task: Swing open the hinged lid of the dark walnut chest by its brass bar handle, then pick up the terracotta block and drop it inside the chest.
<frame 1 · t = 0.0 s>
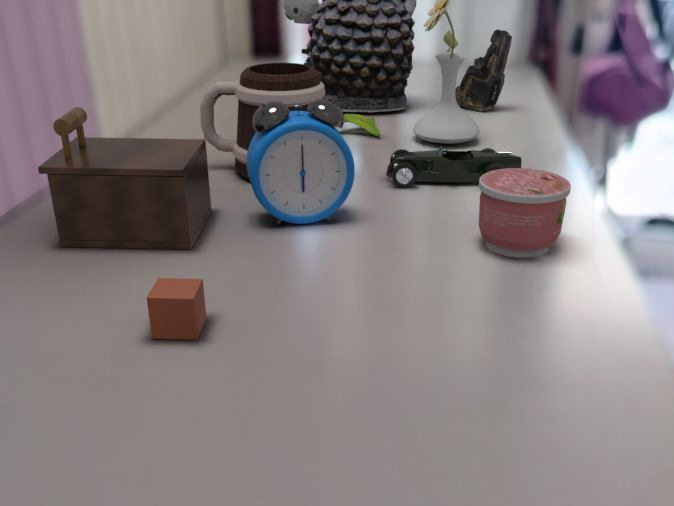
flower in vase: (444, 142, 137), on the table
robot: (333, 79, 182), on the table
statue: (477, 109, 157), on the table
block: (179, 328, 78), on the table
chest: (140, 228, 101), on the table
toy car: (452, 181, 119), on the table
alarm clock: (301, 219, 105), on the table
lid: (123, 136, 95), point 12 cm above the table, hinge at 0.0°
toy: (323, 134, 141), on the table
mug: (268, 171, 122), on the table
container: (517, 246, 97), on the table
pine cone sculpture: (360, 109, 157), on the table
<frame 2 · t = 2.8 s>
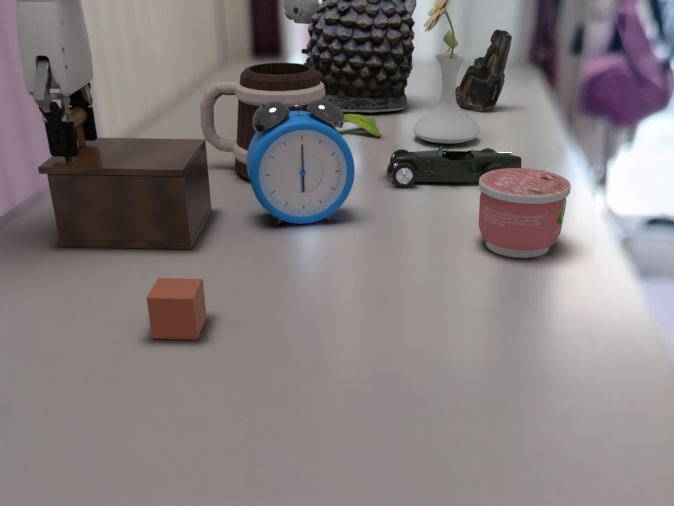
hand: (74, 146, 96), 10 cm above the table, tool pointing down, fingers closed on lid, 6 cm apart
lid: (123, 136, 95), point 12 cm above the table, hinge at 0.0°, touching gripper
everything else where it was.
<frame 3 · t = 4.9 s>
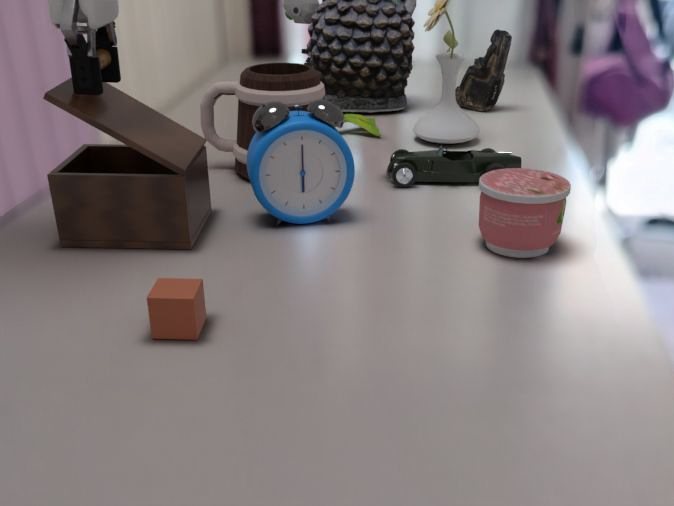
hand: (98, 86, 92), 17 cm above the table, tool pointing down, fingers closed on lid, 6 cm apart
lid: (138, 103, 93), point 16 cm above the table, hinge at 30.1°, touching gripper
everything else where it was.
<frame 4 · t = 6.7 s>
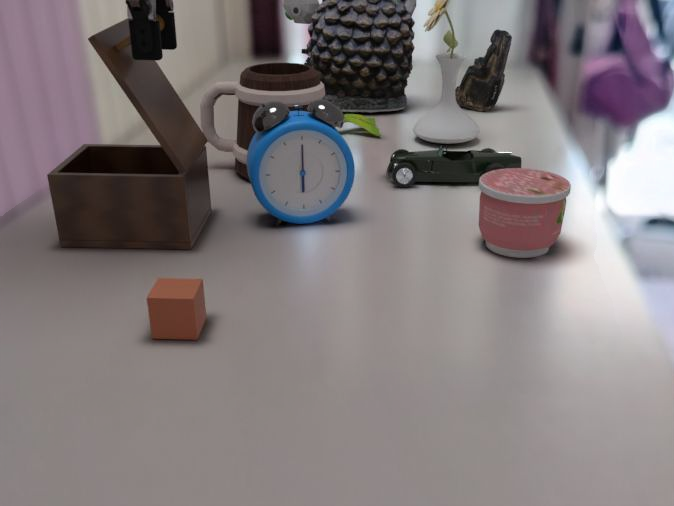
hand: (155, 52, 90), 21 cm above the table, tool pointing down, fingers closed on lid, 6 cm apart
lid: (169, 84, 92), point 18 cm above the table, hinge at 59.8°, touching gripper
everything else where it was.
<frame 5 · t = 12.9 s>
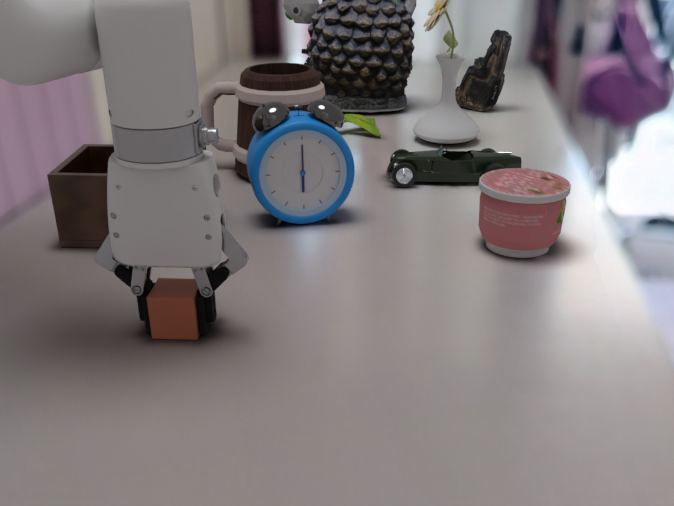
hand: (179, 325, 78), 0 cm above the table, tool pointing down, fingers closed on block, 4 cm apart
block: (179, 328, 78), on the table, touching gripper
lid: (170, 84, 92), point 18 cm above the table, hinge at 60.3°
everything else where it was.
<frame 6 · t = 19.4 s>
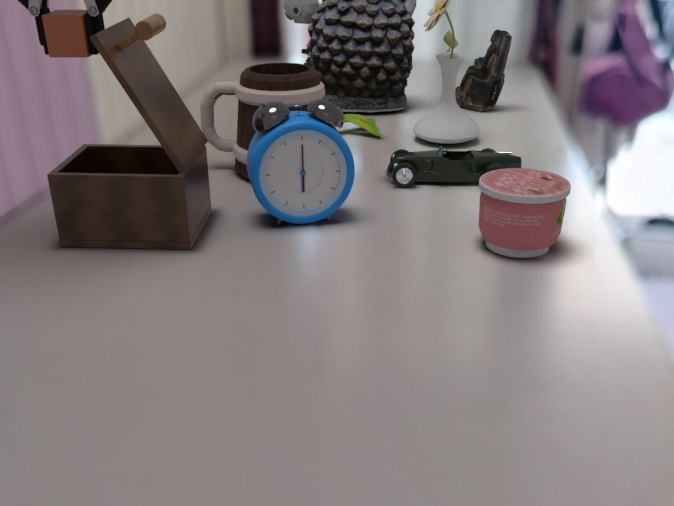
hand: (74, 50, 90), 21 cm above the table, tool pointing down, fingers closed on block, 4 cm apart
block: (75, 54, 91), point 21 cm above the table, touching gripper
lid: (170, 84, 92), point 18 cm above the table, hinge at 60.6°, touching gripper
everything else where it was.
when the fingers open (9 cm above the table, at t = 22.4 s): block drops 6 cm and tips over, resting on chest.
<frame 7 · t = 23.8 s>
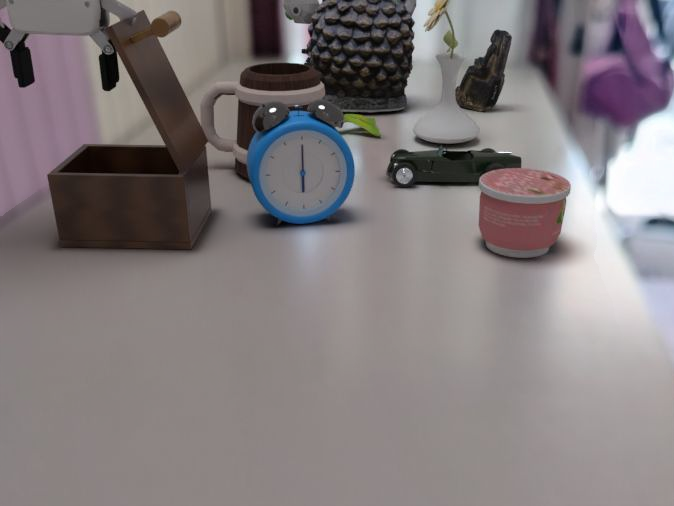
hand: (68, 87, 92), 17 cm above the table, tool pointing down, fingers open, 9 cm apart
block: (88, 204, 100), point 3 cm above the table, tilted 90°, touching chest
lid: (179, 82, 92), point 18 cm above the table, hinge at 67.6°
everything else where it was.
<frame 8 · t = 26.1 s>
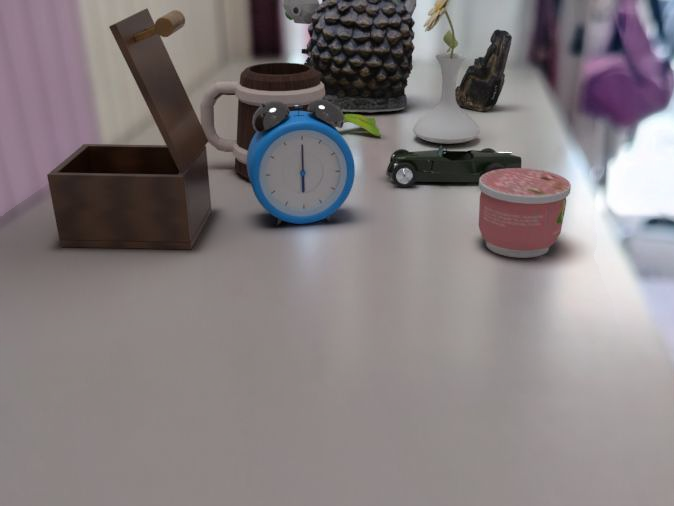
lid: (181, 82, 92), point 18 cm above the table, hinge at 69.3°
everything else where it was.
at the end: lid at +69° (first picture: +0°); block inside the target area in the chest (6.1 cm from its centre), point 3.1 cm above the chest's base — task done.
